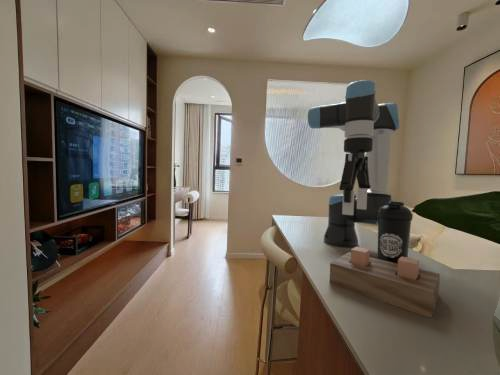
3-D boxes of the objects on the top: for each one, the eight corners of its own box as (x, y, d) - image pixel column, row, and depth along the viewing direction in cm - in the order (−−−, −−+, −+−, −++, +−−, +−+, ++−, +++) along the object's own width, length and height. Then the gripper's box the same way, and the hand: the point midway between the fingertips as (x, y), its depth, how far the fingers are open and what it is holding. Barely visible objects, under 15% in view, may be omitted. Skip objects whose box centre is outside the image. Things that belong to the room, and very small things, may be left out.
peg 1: (355, 264, 73) (356, 246, 73) (369, 268, 70) (370, 249, 70) (350, 268, 70) (351, 249, 70) (364, 272, 67) (365, 252, 67)
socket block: (347, 269, 80) (348, 252, 79) (438, 295, 63) (439, 273, 63) (329, 282, 70) (330, 262, 69) (431, 318, 53) (433, 292, 53)
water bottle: (370, 269, 80) (374, 202, 79) (379, 261, 88) (382, 200, 87) (406, 278, 74) (410, 205, 72) (411, 269, 81) (415, 202, 80)
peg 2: (400, 277, 65) (401, 256, 65) (417, 281, 62) (419, 260, 62) (396, 281, 62) (397, 260, 62) (415, 286, 59) (416, 264, 59)
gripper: (356, 143, 80) (354, 206, 81) (328, 133, 60) (326, 215, 62) (381, 142, 75) (378, 208, 76) (360, 130, 56) (356, 219, 57)
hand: (355, 211), depth 69 cm, fingers open, 13 cm apart
